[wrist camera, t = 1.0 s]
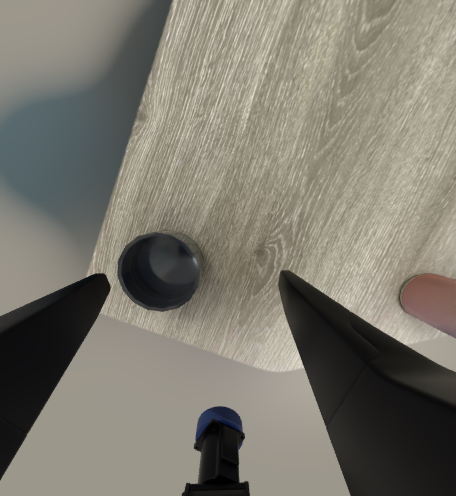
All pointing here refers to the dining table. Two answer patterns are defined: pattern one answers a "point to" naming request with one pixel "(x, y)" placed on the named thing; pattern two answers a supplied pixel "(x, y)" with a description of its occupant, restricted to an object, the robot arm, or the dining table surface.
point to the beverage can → (431, 301)
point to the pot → (161, 270)
